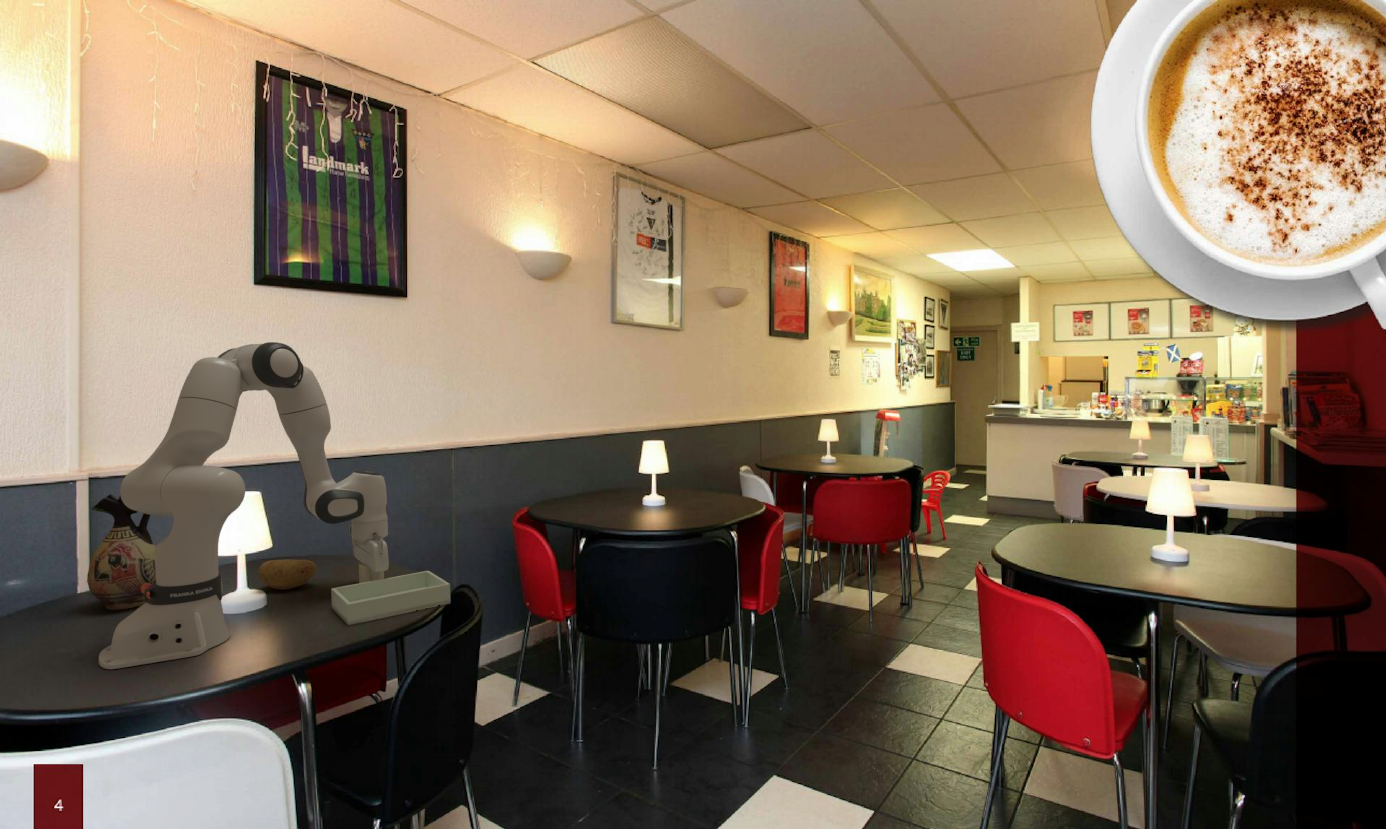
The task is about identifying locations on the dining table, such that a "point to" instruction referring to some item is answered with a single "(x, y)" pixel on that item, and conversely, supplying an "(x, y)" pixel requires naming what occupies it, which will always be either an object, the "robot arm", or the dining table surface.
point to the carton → (367, 573)
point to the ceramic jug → (122, 558)
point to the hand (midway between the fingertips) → (371, 580)
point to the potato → (286, 573)
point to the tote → (389, 597)
